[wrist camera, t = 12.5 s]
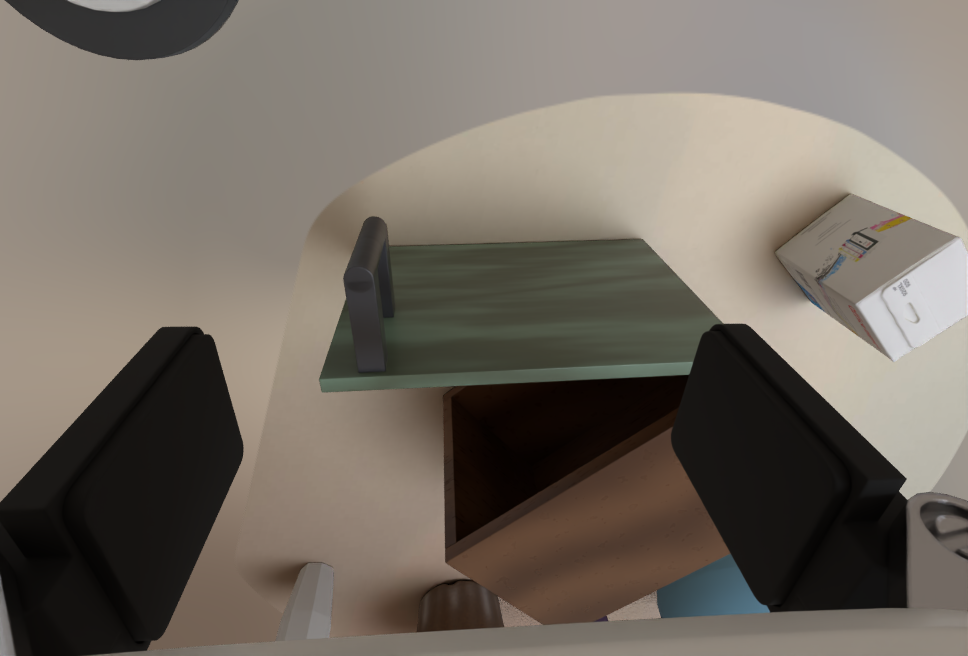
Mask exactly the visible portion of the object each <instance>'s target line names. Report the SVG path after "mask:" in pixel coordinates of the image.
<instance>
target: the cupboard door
mask: <svg viewBox="0 0 968 656" xmlns="http://www.w3.org/2000/svg"><path fill="white" fill-rule="evenodd" d="M343 279H344V286H345V293H346V301H345V304H344V307H343V310H342V313H341V315H340V318H339V321H338V324H337V327H336V330H335V333H334V336H333V339H332V342H331V345H330V348H329V351H328V354H327V357H326V360H325V363H324V366H323V369H322V372H321V375H320V378H319V381H320V386H321V391H322V392H343V391H363V390H384V389H405V388H425V387H446V386H467V385H487V384H508V383H529V382H549V381H570V380H591V379H611V378H632V377H653V376H673V375H689V374H690V371H691V367H692V364H693V361H694V358H695V355H696V351H697V348H698V345H699V342H700V339H701V336H702V334H703V333H704V332H706V331H709V330H710V329H711V327H712V326H713V325H715V324H723V323H722V322H721V321H720V320H719V319H718V318H717V317H716V315H715V314H714V313H713V312H712V311H711V310H710V309H709V308H708V307H707V306H706V305H705V304H704V303H703V302H702V301H701V300H700V299H699V298H698V297H697V296H696V294H695V293H694V292H693V291H692V290H691V289H690V288H689V287H688V286H687V285H686V284H685V283H684V282H683V281H682V280H681V279H680V278H679V277H678V276H677V275H676V273H675V272H674V271H673V270H672V269H671V268H670V267H669V266H668V265H667V264H666V263H665V262H664V261H663V260H662V259H661V258H660V257H659V256H658V255H657V254H656V252H655V251H654V250H653V249H652V248H651V247H650V246H649V245H648V244H647V243H646V242H645V241H644V240H643V239H633V240H600V241H566V242H532V243H498V244H464V245H431V246H397V247H389V240H388V231H387V225H386V223H385V222H384V220H382V219H381V218H379V217H369V218H367V219H366V220H365V221H364V223H363V226H362V228H361V231H360V234H359V236H358V239H357V242H356V244H355V247H354V250H353V252H352V255H351V258H350V260H349V263H348V266H347V268H346V271H345V274H344V278H343Z"/></svg>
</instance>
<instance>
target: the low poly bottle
mask: <svg viewBox="0 0 968 656" xmlns="http://www.w3.org/2000/svg"><path fill="white" fill-rule="evenodd" d="M333 581H334V572H333V567H331V566H328V565H326V564H324V563H308V564H306V565H305V566H304V567H303V568H302V569H301V570H300V573H299V575H298V578H297V580H296V583H295V586H294V588H293V591H292V593H291V596H290V598H289V601H288V603H287V606H286V609H285V611H284V614H283V616H282V619H281V622H280V626H279V630H278V633H277V637H276V641H290V640H305V639H321V638H329V634H330V628H331V613H332V597H333Z"/></svg>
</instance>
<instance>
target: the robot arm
mask: <svg viewBox="0 0 968 656" xmlns="http://www.w3.org/2000/svg"><path fill="white" fill-rule="evenodd" d="M67 1H69V2H72V3H74V4H77V5H80V6H83V7H86V8H90V9H93V10H100V11H109V12H131V11H135V10H140V9H144V8H147V7H149V6H151V5H153V4H155V3H157V2H159V1H161V0H67ZM671 444H672V448H673V450H674V452H675V454H676V456H677V458H678V459H679V461H680V463H681V465H682V467H683V468H684V470H685V472H686V474H687V476H688V477H689V479H690V481H691V483H692V485H693V486H694V488H695V490H696V492H697V494H698V496H699V497H700V499H701V501H702V503H703V505H704V506H705V508H706V510H707V512H708V514H709V515H710V517H711V519H712V521H713V523H714V524H715V526H716V528H717V530H718V532H719V534H720V535H721V537H722V539H723V541H724V543H725V544H726V546H727V548H728V550H729V552H730V553H731V555H732V557H733V559H734V561H735V563H736V564H737V566H738V568H739V570H740V572H741V573H742V575H743V577H744V579H745V581H746V582H747V584H748V586H749V588H750V590H751V591H752V593H753V595H754V597H755V598H756V600H757V601H758V602H759V603H760V604H762V605H767V607H768V609H769V611H770V613H753V614H734V615H715V616H696V617H677V618H658V619H640V620H621V621H603V622H586V623H569V624H551V625H534V626H517V627H500V628H483V629H466V630H449V631H433V632H416V633H399V634H384V635H368V636H352V637H337V638H321V639H305V640H290V641H274V642H259V643H244V644H228V645H212V646H198V647H186V648H174V649H162V650H149V651H147V649H148V647H149V645H150V642H151V641H152V640H158V639H159V638H160V637H161V636H162V635H163V634H164V632H165V630H166V628H167V626H168V624H169V622H170V620H171V617H172V615H173V613H174V611H175V608H176V606H177V604H178V602H179V600H180V597H181V595H182V593H183V591H184V588H185V586H186V584H187V582H188V580H189V577H190V575H191V573H192V571H193V568H194V566H195V564H196V562H197V560H198V557H199V555H200V553H201V551H202V548H203V546H204V544H205V541H206V539H207V537H208V535H209V533H210V531H211V528H212V526H213V524H214V522H215V520H216V517H217V515H218V513H219V511H220V508H221V506H222V504H223V501H224V499H225V497H226V495H227V493H228V491H229V488H230V486H231V484H232V482H233V479H234V477H235V475H236V473H237V471H238V468H239V466H240V464H241V461H242V458H243V441H242V438H241V435H240V431H239V427H238V424H237V420H236V416H235V413H234V410H233V406H232V402H231V399H230V395H229V392H228V388H227V384H226V381H225V377H224V374H223V370H222V367H221V363H220V360H219V356H218V352H217V349H216V345H215V342H214V339H213V338H212V337H211V335H207V334H205V335H204V333H203V331H202V330H201V329H200V328H198V327H162V328H160V329H159V330H158V331H157V332H156V333H155V334H154V335H153V336H152V338H150V340H149V341H148V342H147V343H146V344H145V345H144V346H143V347H142V348H141V349H140V351H139V352H138V353H137V354H136V355H135V356H134V357H133V358H132V359H131V360H130V362H128V364H127V365H126V366H125V367H124V368H123V369H122V370H121V371H120V372H119V374H117V376H116V377H115V378H114V379H113V380H112V381H111V382H110V383H109V384H108V385H107V386H106V388H105V389H104V390H103V391H102V392H101V393H100V394H99V395H98V396H97V397H96V399H95V400H94V401H93V402H92V403H91V404H90V405H89V406H88V407H87V408H86V409H85V410H84V412H83V413H82V414H81V415H80V416H79V417H78V418H77V419H76V420H75V421H74V423H73V424H72V425H71V426H70V427H69V428H68V429H67V430H66V431H65V432H64V433H63V435H62V436H61V437H60V438H59V439H58V440H57V441H56V442H55V443H54V444H53V445H52V447H51V448H50V449H49V450H48V451H47V452H46V453H45V454H44V455H43V456H42V458H41V459H40V460H39V461H38V462H37V463H36V464H35V465H34V466H33V467H32V468H31V470H30V471H29V472H28V473H27V474H26V475H25V476H24V477H23V478H22V479H21V480H20V481H19V483H18V484H17V485H16V486H15V487H14V488H13V489H12V490H11V491H10V492H9V493H8V495H7V496H6V497H5V498H4V499H3V500H2V501H1V502H0V656H968V501H966V500H963V499H960V498H957V497H953V496H950V495H947V494H941V493H934V492H926V493H917V494H916V495H914V496H913V497H911V498H910V499H909V500H907V499H906V498H905V497H904V496H903V495H902V494H901V493H900V492H899V490H900V488H901V487H902V485H903V484H904V482H905V481H906V478H905V477H904V476H903V475H902V474H901V473H900V472H899V471H898V470H897V469H896V468H895V467H894V466H893V465H892V464H891V463H890V462H889V461H888V460H887V459H886V458H885V457H884V456H883V455H882V454H881V453H880V452H878V451H877V450H876V449H875V448H874V447H873V446H872V445H871V444H870V443H869V442H868V441H867V440H866V439H865V438H864V437H863V436H862V435H861V434H860V433H859V432H858V431H857V430H856V429H855V428H854V427H853V426H852V425H851V424H850V423H849V422H848V421H847V420H845V419H844V418H843V417H842V416H841V415H840V414H839V413H838V412H837V411H836V410H835V409H834V408H833V407H832V406H831V405H830V404H829V403H828V402H827V401H826V400H825V399H824V398H823V397H822V396H821V395H820V394H819V393H818V392H817V391H816V390H815V389H814V388H813V387H811V386H810V385H809V384H808V383H807V382H806V381H805V380H804V379H803V378H802V377H801V376H800V375H799V374H798V373H797V372H796V371H795V370H794V369H793V368H792V367H791V366H790V365H789V364H788V363H787V362H786V361H785V360H784V359H783V358H782V357H781V356H780V355H778V354H777V353H776V352H775V351H774V350H773V349H772V348H771V347H770V346H769V345H768V344H767V343H766V342H765V341H764V340H763V339H762V338H761V337H760V336H759V335H758V334H757V333H756V332H755V331H754V330H753V329H752V328H751V327H749V326H748V325H746V324H715V325H713V326H712V327H711V329H710V330H709V331H706V332H704V333H703V334H702V336H701V339H700V342H699V345H698V348H697V351H696V355H695V358H694V361H693V364H692V367H691V371H690V374H689V377H688V380H687V383H686V387H685V390H684V393H683V396H682V400H681V403H680V406H679V409H678V412H677V416H676V419H675V422H674V425H673V428H672V432H671Z"/></svg>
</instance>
